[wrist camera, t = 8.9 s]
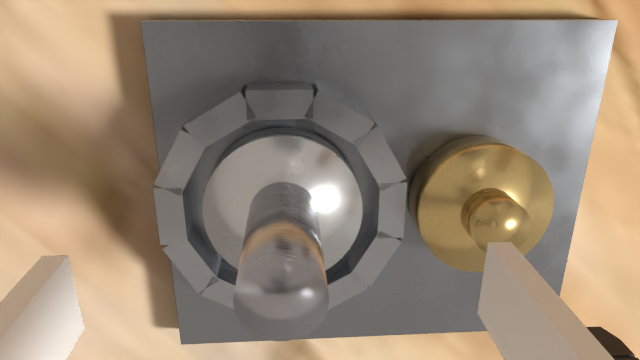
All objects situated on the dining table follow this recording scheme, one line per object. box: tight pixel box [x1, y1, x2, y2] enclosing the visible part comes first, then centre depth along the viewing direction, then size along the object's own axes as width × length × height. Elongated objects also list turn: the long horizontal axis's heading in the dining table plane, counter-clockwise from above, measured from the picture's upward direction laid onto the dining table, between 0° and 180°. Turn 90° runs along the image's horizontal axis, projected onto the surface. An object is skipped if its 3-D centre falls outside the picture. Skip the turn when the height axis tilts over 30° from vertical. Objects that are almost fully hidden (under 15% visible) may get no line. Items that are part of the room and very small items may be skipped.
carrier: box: [141, 19, 618, 344], centre depth 22 cm, size 16×20×5 cm
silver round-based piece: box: [202, 127, 363, 341], centre depth 19 cm, size 7×7×8 cm
